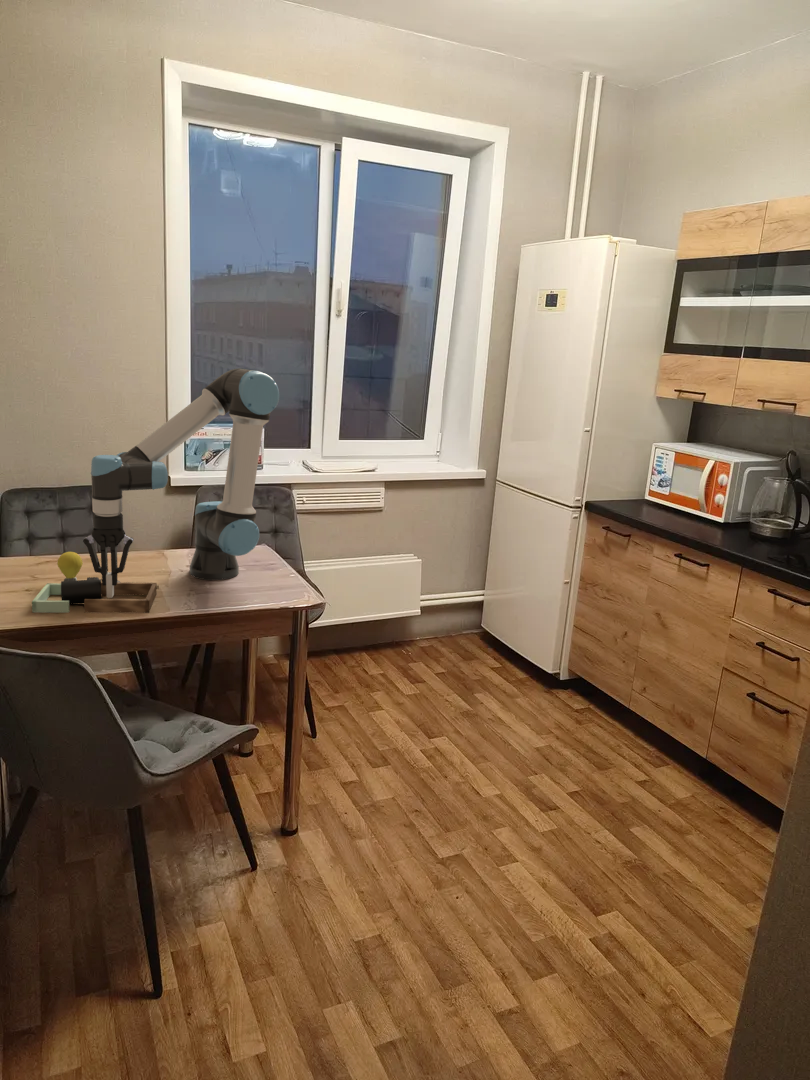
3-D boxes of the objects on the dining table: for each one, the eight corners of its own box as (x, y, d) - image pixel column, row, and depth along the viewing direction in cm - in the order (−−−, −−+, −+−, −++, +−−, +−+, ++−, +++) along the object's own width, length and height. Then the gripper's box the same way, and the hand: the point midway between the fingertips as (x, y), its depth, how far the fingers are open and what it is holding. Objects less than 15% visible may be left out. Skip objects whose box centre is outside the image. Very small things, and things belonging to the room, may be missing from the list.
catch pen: (81, 593, 217) (81, 583, 216) (68, 612, 203) (68, 601, 202) (47, 593, 215) (47, 583, 214) (32, 612, 201) (31, 601, 200)
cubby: (156, 594, 221) (156, 582, 220) (149, 612, 206) (149, 600, 205) (96, 593, 217) (96, 582, 217) (84, 612, 203) (84, 600, 202)
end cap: (61, 608, 205) (60, 584, 203) (62, 599, 211) (61, 576, 209) (101, 606, 209) (101, 582, 207) (101, 597, 215) (100, 574, 213)
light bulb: (74, 589, 219) (72, 556, 217) (53, 586, 220) (51, 553, 218) (88, 583, 226) (86, 550, 223) (67, 580, 227) (66, 547, 224)
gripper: (135, 510, 209) (137, 591, 215) (85, 509, 207) (88, 591, 213) (131, 517, 202) (132, 600, 208) (79, 515, 200) (82, 600, 206)
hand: (110, 596), depth 211 cm, fingers closed
